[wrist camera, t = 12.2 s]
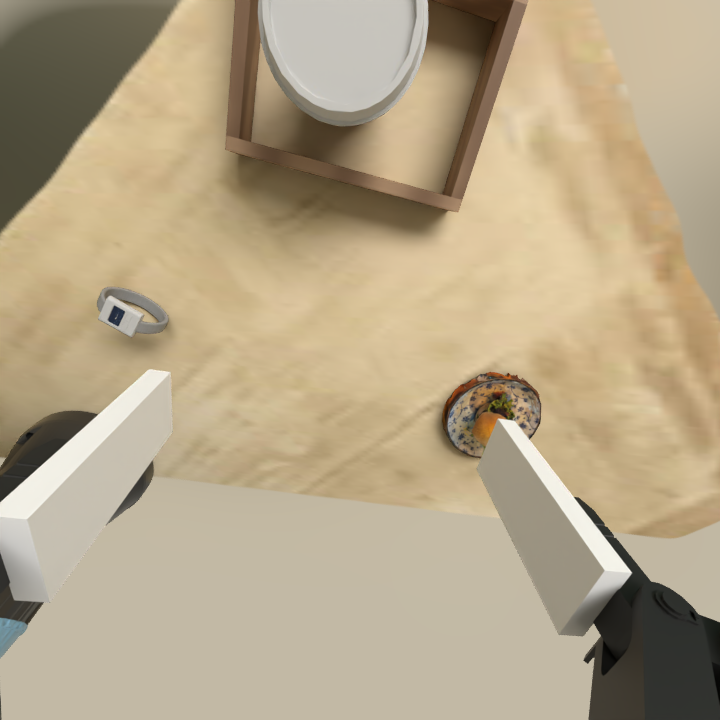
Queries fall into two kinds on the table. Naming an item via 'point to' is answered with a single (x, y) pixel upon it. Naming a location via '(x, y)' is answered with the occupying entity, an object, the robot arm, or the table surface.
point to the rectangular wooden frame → (494, 3)
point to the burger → (489, 410)
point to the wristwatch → (129, 312)
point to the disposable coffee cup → (343, 54)
